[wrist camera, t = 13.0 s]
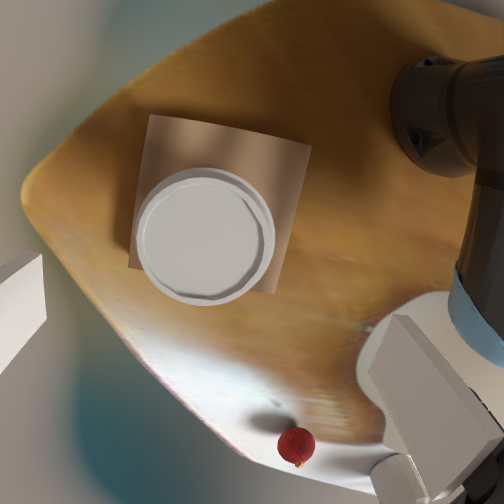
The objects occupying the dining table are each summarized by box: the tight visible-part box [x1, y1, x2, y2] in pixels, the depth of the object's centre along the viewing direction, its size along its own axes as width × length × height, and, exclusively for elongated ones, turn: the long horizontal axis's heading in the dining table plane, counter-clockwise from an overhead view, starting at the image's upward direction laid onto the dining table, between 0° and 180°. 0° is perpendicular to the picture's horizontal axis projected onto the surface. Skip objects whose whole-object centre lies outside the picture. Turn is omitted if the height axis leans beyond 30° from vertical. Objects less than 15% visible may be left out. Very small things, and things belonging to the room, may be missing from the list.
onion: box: [277, 427, 315, 468], centre depth 43 cm, size 6×6×8 cm
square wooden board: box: [128, 114, 312, 294], centre depth 33 cm, size 16×16×3 cm
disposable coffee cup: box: [134, 168, 275, 306], centre depth 26 cm, size 10×10×12 cm
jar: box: [370, 454, 430, 504], centre depth 46 cm, size 10×10×18 cm
